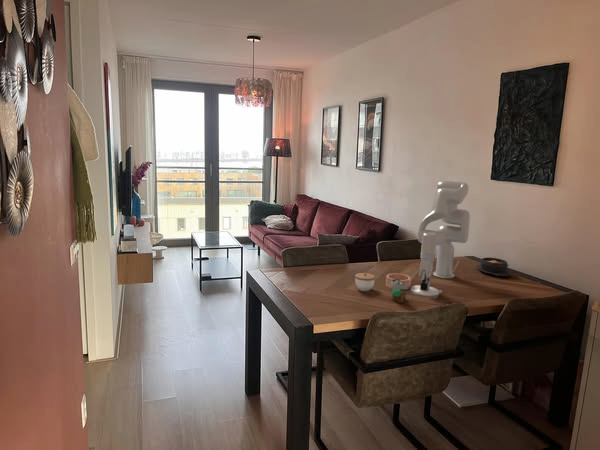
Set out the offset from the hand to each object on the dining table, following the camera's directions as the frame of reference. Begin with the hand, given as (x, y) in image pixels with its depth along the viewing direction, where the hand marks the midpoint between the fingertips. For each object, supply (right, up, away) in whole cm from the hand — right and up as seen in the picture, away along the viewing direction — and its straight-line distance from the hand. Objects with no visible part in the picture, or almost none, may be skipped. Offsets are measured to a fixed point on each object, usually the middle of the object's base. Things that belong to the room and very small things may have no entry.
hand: (424, 288), depth 236 cm
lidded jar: (-33, -1, +2) cm, 33 cm away
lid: (0, -2, 0) cm, 2 cm away
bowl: (-13, -1, +8) cm, 15 cm away
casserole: (+57, +3, +44) cm, 72 cm away
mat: (0, -2, +1) cm, 2 cm away
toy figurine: (-19, -4, -13) cm, 23 cm away
